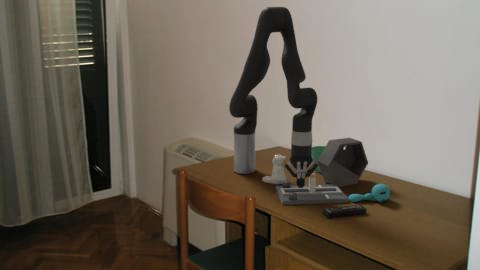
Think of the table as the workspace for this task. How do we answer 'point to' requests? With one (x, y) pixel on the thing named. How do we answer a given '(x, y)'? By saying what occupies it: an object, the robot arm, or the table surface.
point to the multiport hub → (344, 211)
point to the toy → (373, 194)
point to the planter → (343, 161)
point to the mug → (317, 155)
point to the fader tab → (312, 182)
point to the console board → (310, 194)
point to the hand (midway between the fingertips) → (300, 187)
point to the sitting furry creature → (276, 171)
